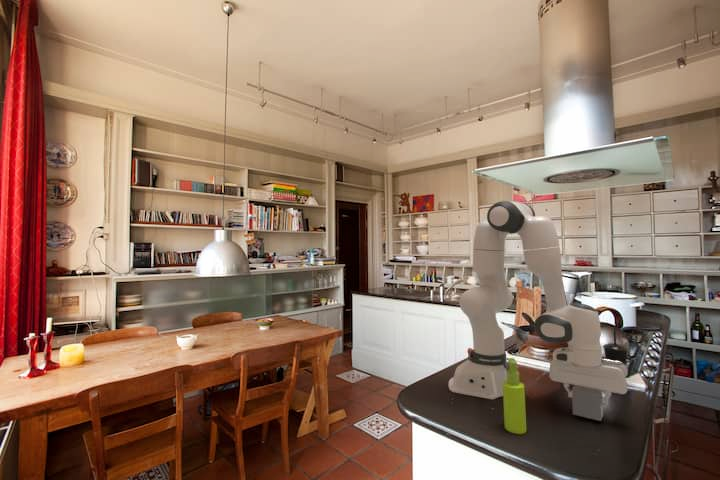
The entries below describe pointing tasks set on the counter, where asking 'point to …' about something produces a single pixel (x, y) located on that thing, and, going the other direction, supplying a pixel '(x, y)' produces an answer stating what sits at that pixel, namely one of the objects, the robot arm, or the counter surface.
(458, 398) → the counter surface
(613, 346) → the drinking cup
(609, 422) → the counter surface
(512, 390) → the soap dispenser
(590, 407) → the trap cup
